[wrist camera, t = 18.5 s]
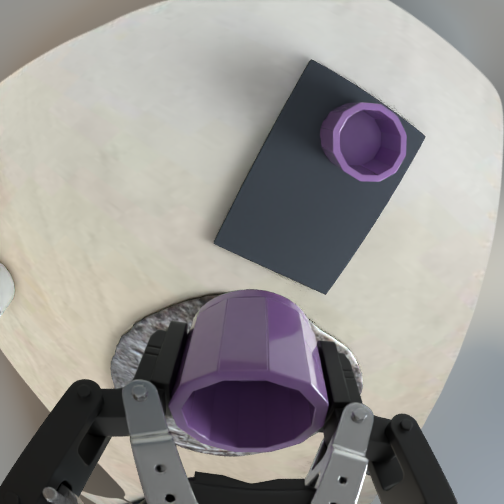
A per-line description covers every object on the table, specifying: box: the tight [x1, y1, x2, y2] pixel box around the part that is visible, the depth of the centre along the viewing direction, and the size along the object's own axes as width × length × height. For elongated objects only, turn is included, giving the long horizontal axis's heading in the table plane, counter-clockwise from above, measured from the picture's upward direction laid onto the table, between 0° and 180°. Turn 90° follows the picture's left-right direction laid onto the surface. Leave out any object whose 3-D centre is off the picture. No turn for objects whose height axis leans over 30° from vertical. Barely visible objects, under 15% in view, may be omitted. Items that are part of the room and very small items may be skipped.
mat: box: [214, 59, 425, 295], centre depth 25 cm, size 18×12×1 cm, turn 153°
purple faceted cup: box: [168, 289, 329, 452], centre depth 12 cm, size 6×6×4 cm
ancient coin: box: [111, 295, 363, 456], centre depth 38 cm, size 33×35×1 cm
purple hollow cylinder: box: [320, 102, 407, 182], centre depth 21 cm, size 6×6×4 cm
